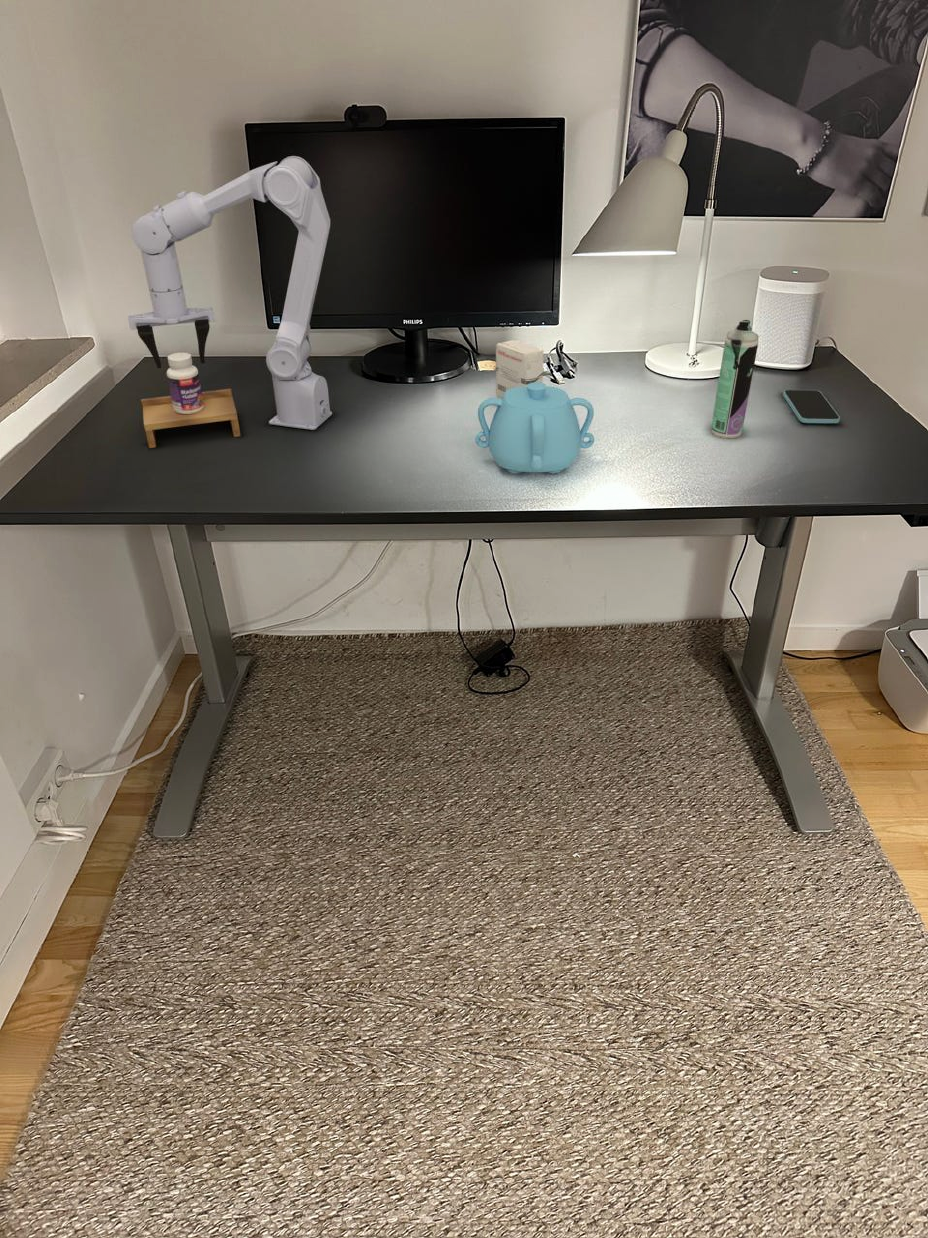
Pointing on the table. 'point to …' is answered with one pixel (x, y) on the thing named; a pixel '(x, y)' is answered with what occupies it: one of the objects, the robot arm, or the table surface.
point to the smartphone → (811, 406)
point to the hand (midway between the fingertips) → (180, 363)
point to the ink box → (517, 366)
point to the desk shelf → (163, 415)
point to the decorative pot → (535, 429)
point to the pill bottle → (184, 384)
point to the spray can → (734, 381)
